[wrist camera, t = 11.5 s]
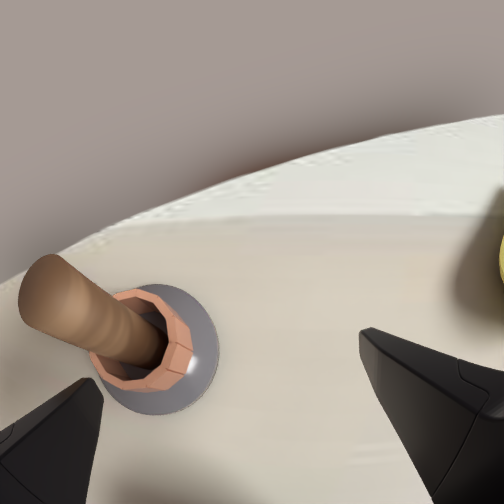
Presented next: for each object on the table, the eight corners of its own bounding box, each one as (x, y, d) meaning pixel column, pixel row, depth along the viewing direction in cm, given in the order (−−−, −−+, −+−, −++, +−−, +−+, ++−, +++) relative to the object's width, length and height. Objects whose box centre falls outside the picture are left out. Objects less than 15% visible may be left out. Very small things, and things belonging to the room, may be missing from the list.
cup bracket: (193, 436, 19) (172, 443, 15) (86, 381, 21) (54, 374, 17) (237, 308, 24) (227, 288, 20) (128, 275, 26) (104, 252, 22)
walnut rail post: (175, 362, 21) (72, 314, 10) (136, 374, 21) (18, 336, 10) (164, 320, 23) (68, 243, 12) (126, 333, 22) (19, 269, 11)
